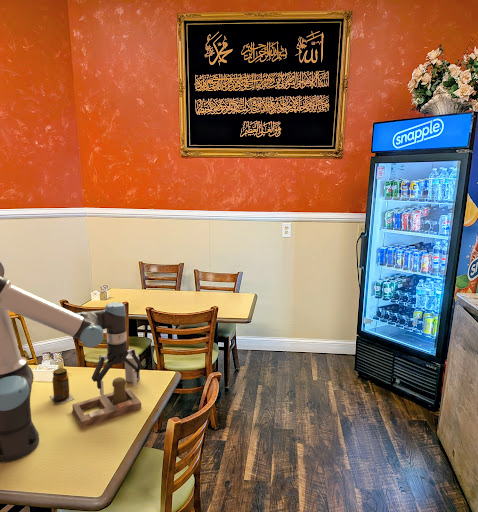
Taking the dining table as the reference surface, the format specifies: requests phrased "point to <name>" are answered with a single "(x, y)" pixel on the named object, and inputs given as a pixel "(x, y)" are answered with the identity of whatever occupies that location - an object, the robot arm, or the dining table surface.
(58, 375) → the condiment
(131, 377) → the beverage can
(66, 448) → the dining table surface
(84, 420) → the caddy
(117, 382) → the cork
